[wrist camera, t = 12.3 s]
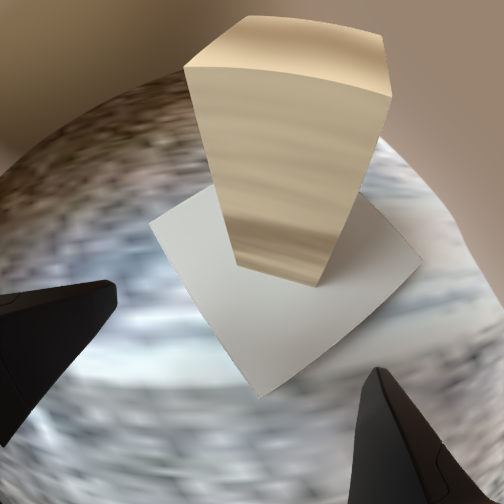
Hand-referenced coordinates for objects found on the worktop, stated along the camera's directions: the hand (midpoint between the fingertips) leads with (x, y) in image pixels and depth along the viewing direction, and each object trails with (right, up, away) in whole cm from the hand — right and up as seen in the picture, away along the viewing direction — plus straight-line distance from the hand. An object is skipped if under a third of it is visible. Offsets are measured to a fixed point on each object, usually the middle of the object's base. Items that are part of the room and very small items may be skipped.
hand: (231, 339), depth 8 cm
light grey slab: (+3, +2, +12) cm, 13 cm away
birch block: (+3, +3, +10) cm, 11 cm away
